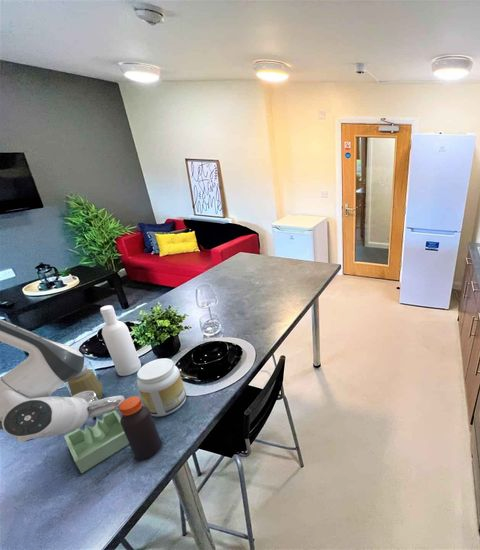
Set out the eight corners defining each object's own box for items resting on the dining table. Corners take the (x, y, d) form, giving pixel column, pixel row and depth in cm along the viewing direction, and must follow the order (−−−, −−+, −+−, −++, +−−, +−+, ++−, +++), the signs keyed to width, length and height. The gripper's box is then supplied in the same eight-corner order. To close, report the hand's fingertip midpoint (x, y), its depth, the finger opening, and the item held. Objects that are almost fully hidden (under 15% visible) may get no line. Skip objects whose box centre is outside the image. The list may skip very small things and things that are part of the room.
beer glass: (110, 421, 93) (94, 386, 87) (113, 435, 89) (97, 399, 83) (81, 434, 89) (62, 398, 83) (83, 450, 84) (63, 413, 78)
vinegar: (138, 443, 91) (118, 397, 83) (163, 436, 94) (146, 390, 86) (132, 463, 86) (110, 416, 77) (159, 455, 88) (141, 408, 80)
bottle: (144, 368, 121) (122, 307, 108) (120, 379, 115) (95, 315, 103) (137, 360, 125) (116, 300, 113) (115, 369, 119) (89, 307, 107)
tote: (81, 473, 83) (74, 462, 81) (70, 447, 89) (63, 436, 87) (133, 441, 92) (129, 430, 90) (120, 420, 99) (115, 409, 97)
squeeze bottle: (102, 388, 111) (85, 350, 103) (109, 398, 106) (92, 360, 99) (73, 401, 105) (53, 362, 97) (80, 413, 100) (59, 373, 93)
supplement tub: (190, 388, 112) (180, 353, 105) (182, 413, 102) (171, 376, 95) (153, 395, 109) (140, 359, 102) (141, 422, 98) (127, 384, 91)
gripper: (115, 388, 80) (130, 390, 92) (8, 418, 70) (41, 416, 82) (117, 412, 78) (133, 411, 90) (8, 446, 69) (41, 440, 80)
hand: (88, 414), depth 86 cm, fingers closed on beer glass, 7 cm apart
